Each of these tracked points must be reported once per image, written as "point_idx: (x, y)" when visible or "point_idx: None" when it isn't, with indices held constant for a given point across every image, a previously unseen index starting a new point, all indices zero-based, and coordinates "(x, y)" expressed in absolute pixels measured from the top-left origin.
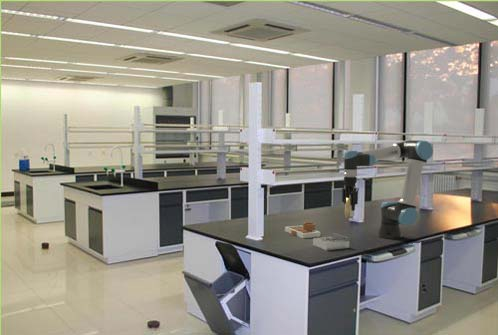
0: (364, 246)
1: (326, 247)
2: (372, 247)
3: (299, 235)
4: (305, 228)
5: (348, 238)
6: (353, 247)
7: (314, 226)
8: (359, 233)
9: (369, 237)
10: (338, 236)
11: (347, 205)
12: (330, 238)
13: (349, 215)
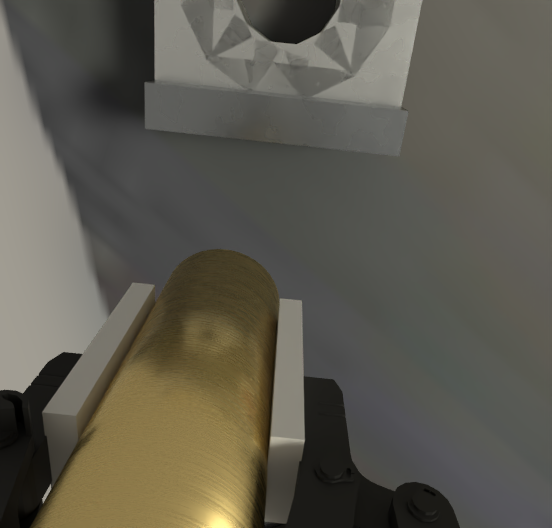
0: (161, 264)
1: None
2: (114, 292)
3: None
4: None
5: (147, 119)
6: (168, 162)
7: None
8: (487, 498)
9: (359, 471)
10: (278, 95)
11: (147, 381)
12: (336, 21)
13: (165, 289)
